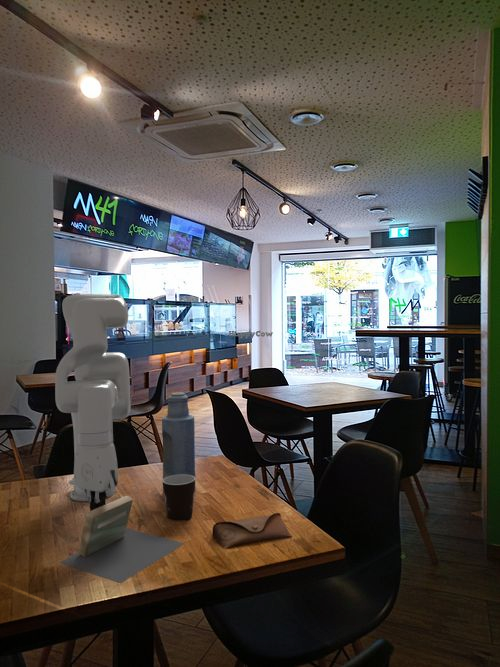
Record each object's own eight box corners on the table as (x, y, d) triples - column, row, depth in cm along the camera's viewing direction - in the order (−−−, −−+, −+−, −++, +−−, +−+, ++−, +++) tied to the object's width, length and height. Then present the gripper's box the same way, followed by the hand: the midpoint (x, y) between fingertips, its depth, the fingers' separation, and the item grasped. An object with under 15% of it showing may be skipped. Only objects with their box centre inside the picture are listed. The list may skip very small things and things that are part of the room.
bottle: (157, 491, 153) (154, 393, 152) (185, 484, 159) (183, 389, 158) (172, 500, 145) (170, 396, 144) (201, 492, 151) (199, 393, 150)
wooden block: (78, 552, 111) (86, 512, 109) (118, 532, 121) (126, 495, 119) (85, 558, 109) (94, 517, 108) (125, 537, 120) (134, 500, 118)
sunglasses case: (223, 550, 112) (217, 519, 115) (215, 554, 118) (210, 525, 121) (295, 536, 119) (288, 507, 122) (284, 541, 125) (278, 513, 128)
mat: (59, 563, 108) (59, 562, 108) (127, 529, 125) (127, 528, 125) (120, 585, 98) (120, 583, 98) (184, 545, 116) (184, 543, 116)
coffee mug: (190, 524, 127) (189, 485, 127) (158, 522, 129) (157, 483, 129) (203, 507, 139) (202, 471, 138) (173, 506, 140) (173, 470, 140)
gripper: (60, 438, 116) (62, 517, 116) (106, 445, 108) (108, 530, 108) (86, 432, 122) (88, 507, 123) (131, 438, 114) (133, 518, 115)
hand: (98, 517), depth 116 cm, fingers closed
